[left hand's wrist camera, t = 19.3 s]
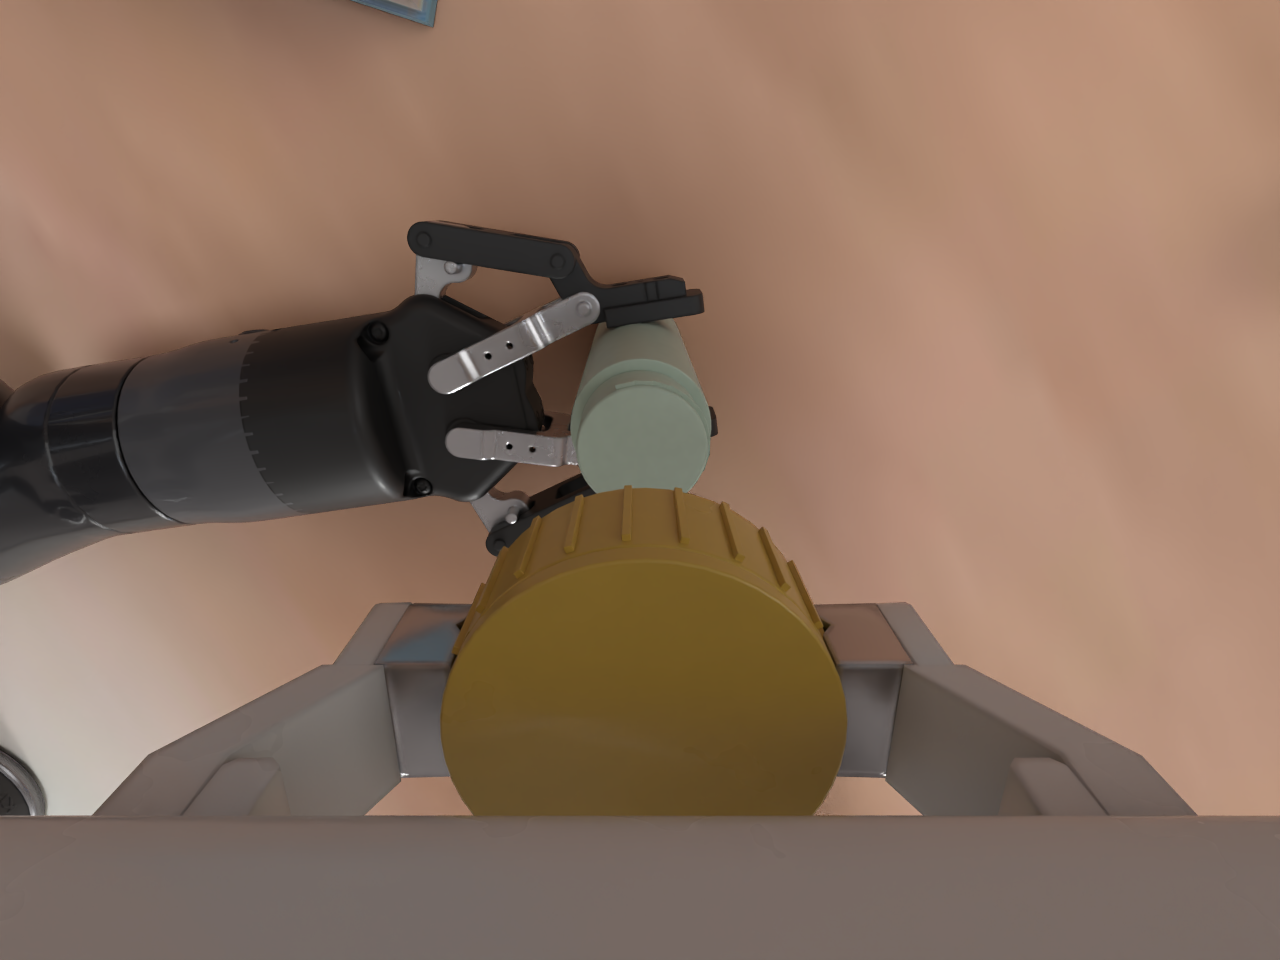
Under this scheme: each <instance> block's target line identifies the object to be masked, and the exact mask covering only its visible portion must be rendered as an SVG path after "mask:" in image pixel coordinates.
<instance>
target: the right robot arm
mask: <svg viewBox="0 0 1280 960" xmlns="http://www.w3.org/2000/svg"><path fill="white" fill-rule="evenodd" d="M407 241H408V244H409V247H410V248H411V250H412V251H413V252H414V253H415V254H416V276H415V295H413V296H410V297H408V298H407V299H405V300H404V301H403V302H402V303H401V304H400V305H399V306H397V307H396V308H395V309H393V310H391V311H387V312H382V313H376V314H370V315H363V316H357V317H351V318H344V319H338V320H332V321H325V322H319V323H313V324H307V325H300V326H293V327H287V328H281V329H275V330H250V331H245V332H242V333H241V334H239V335H237V336H231V337H224V338H218V339H213V340H208V341H203V342H199V343H196V344H192V345H189V346H186V347H183V348H180V349H177V350H174V351H171V352H167V353H163V354H158V355H152V356H146V357H140V358H133V359H127V360H121V361H114V362H108V363H101V364H96V365H89V366H83V367H77V368H72V369H66V370H60V371H55V372H52V373H48V374H44V375H41V376H39V377H37V378H35V379H33V380H31V381H29V382H27V383H25V384H23V385H22V386H20V387H19V388H18V389H17V390H16V391H15V392H14V391H13V390H12V388H10V387H9V386H8V385H7V384H6V383H5V382H3V381H2V380H1V379H0V585H2V584H4V583H7V582H9V581H11V580H13V579H16V578H18V577H20V576H22V575H24V574H26V573H29V572H31V571H33V570H35V569H37V568H39V567H41V566H43V565H45V564H47V563H49V562H51V561H53V560H56V559H58V558H60V557H62V556H65V555H67V554H69V553H72V552H74V551H77V550H79V549H82V548H84V547H87V546H89V545H92V544H94V543H97V542H99V541H102V540H104V539H107V538H111V537H114V536H119V535H124V534H131V533H139V532H146V531H152V530H159V529H166V528H173V527H180V526H187V525H194V524H201V523H242V522H256V521H265V520H272V519H279V518H286V517H293V516H300V515H307V514H314V513H320V512H327V511H334V510H342V509H349V508H356V507H363V506H370V505H377V504H384V503H391V502H398V501H405V500H411V499H416V498H421V497H426V496H434V495H435V496H443V497H448V498H451V499H454V500H457V501H461V502H470V503H471V505H472V506H473V508H474V509H475V511H476V512H477V514H478V516H479V517H480V519H481V520H482V522H483V524H484V525H485V527H486V528H487V530H488V532H489V535H488V537H487V539H486V548H487V550H488V551H489V552H490V553H491V554H492V555H494V556H497V557H498V555H499V552H500V550H501V549H502V548H503V546H505V547H507V548H509V547H510V546H511V545H512V544H513V543H514V542H515V540H516V539H517V538H518V537H519V536H520V535H521V534H522V533H523V532H524V531H526V530H527V529H528V528H529V527H530V526H531V523H532V520H533V519H534V518H535V517H537V516H538V515H539V516H540V518H543V517H544V516H546V515H548V514H549V513H551V512H552V511H554V510H556V509H557V508H560V507H562V506H564V505H566V504H569V503H571V502H573V501H575V497H576V496H579V495H581V494H582V495H583V497H587V496H591V495H594V494H597V493H596V492H595V491H594V490H593V489H592V488H591V487H590V486H589V485H588V483H587V482H586V480H585V479H584V477H583V475H582V473H580V474H578V475H576V476H574V477H572V478H569V479H567V480H565V481H563V482H561V483H559V484H557V485H554V486H552V487H550V488H548V489H546V490H544V491H542V492H539V493H537V494H535V495H533V496H531V497H529V496H528V495H527V494H526V493H524V492H522V491H512V492H501V491H499V490H497V489H496V488H495V487H494V486H495V485H496V484H497V483H498V482H499V481H500V480H501V479H502V478H503V477H504V476H505V475H506V474H507V473H508V472H509V471H510V470H511V469H512V468H513V467H514V466H515V465H516V464H517V463H518V462H519V463H527V464H535V465H543V466H552V467H558V466H562V465H565V464H572V465H578V462H577V457H576V452H575V449H574V446H573V443H572V438H571V430H570V422H571V415H568V414H564V413H556V412H549V411H544V410H543V405H542V401H541V398H540V396H539V394H538V392H537V390H536V388H535V386H534V384H533V365H534V362H533V358H532V353H535V352H537V351H539V350H541V349H542V348H544V347H546V346H547V345H549V344H550V343H552V342H554V341H556V340H558V339H560V338H563V337H565V336H567V335H569V334H571V333H573V332H575V331H577V330H579V329H581V328H584V327H586V326H588V325H590V324H596V323H602V322H606V326H607V328H612V327H619V326H625V325H630V324H638V323H644V322H651V321H657V320H664V319H670V318H677V317H683V316H690V315H696V314H700V313H703V312H704V303H703V295H702V292H701V291H700V289H689V290H686V288H685V281H684V280H683V278H679V277H675V276H671V275H666V276H660V277H654V278H647V279H641V280H635V281H628V282H622V283H616V284H609V285H605V284H600V283H598V282H596V281H595V280H593V279H592V278H591V276H590V275H589V273H588V272H587V270H586V268H585V266H584V264H583V263H582V261H581V259H580V254H579V251H578V249H577V248H576V246H575V245H574V244H572V243H570V242H567V241H562V240H556V239H550V238H544V237H538V236H532V235H526V234H519V233H513V232H507V231H501V230H495V229H489V228H483V227H477V226H471V225H465V224H459V223H453V222H447V221H424V222H417V223H415V224H414V225H412V226H411V227H410V229H409V231H408V235H407ZM477 266H481V267H487V268H493V269H499V270H505V271H512V272H518V273H524V274H530V275H536V276H543V277H549V278H550V280H551V281H552V283H553V285H554V287H555V288H556V290H557V292H558V294H559V295H560V297H559V298H557V299H555V300H553V301H551V302H549V303H547V304H545V305H542V306H540V307H537V308H535V309H533V310H531V311H529V312H527V313H525V314H523V315H521V316H519V317H517V318H515V319H513V320H511V321H508V322H506V323H504V324H502V323H500V322H498V321H496V320H494V319H492V318H490V317H488V316H486V315H484V314H482V313H480V312H478V311H476V310H474V309H472V308H470V307H468V306H466V305H464V304H462V303H460V302H458V301H456V300H454V299H452V298H450V297H448V296H446V295H445V293H446V289H447V287H448V286H449V285H450V284H451V283H459V282H463V281H466V280H468V279H470V278H472V277H473V276H474V274H475V273H476V270H477ZM708 407H709V410H710V416H711V435H710V437H713V436H715V435H717V434H718V429H717V420H716V415H715V412H714V410H713V407H710V406H708ZM542 425H544V426H545V427H542ZM533 447H535V448H533ZM44 815H45V804H44V799H43V796H42V793H41V791H40V789H39V787H38V785H37V783H36V782H35V780H34V779H33V778H32V776H31V775H30V774H29V773H28V772H27V770H26V769H24V768H23V767H22V766H21V765H20V764H19V763H18V762H17V761H16V760H14V759H13V758H11V757H10V756H9V755H7V754H6V753H4V752H2V751H1V750H0V816H44Z"/></svg>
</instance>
